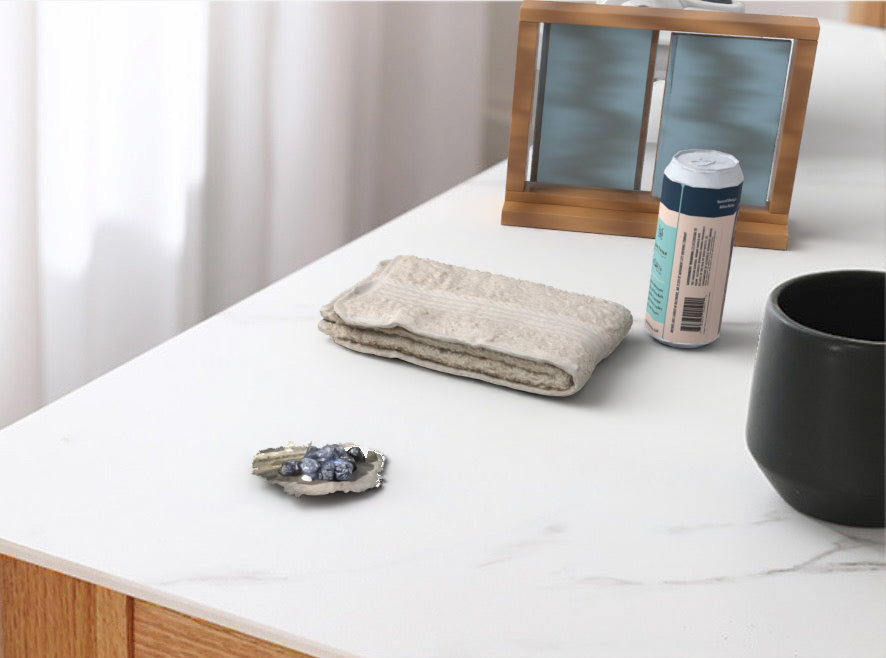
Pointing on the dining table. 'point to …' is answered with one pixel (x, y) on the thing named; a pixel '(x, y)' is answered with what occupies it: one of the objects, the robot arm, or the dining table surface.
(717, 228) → the beer can
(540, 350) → the washcloth
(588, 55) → the window sash
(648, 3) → the robot arm
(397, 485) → the dining table surface
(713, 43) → the window frame
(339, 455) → the blueberries
